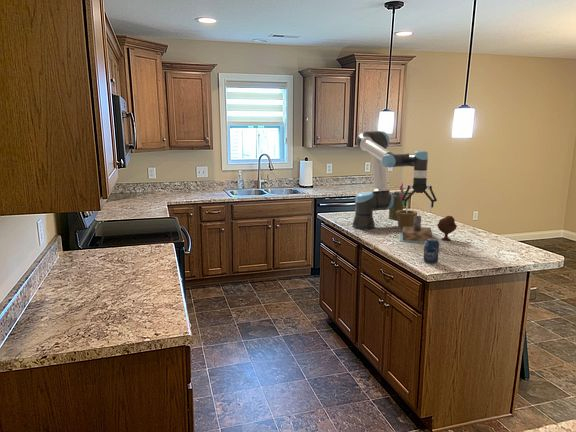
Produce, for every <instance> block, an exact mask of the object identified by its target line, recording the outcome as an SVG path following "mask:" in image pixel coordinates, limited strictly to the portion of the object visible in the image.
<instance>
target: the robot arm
mask: <svg viewBox="0 0 576 432" xmlns="http://www.w3.org/2000/svg"><path fill="white" fill-rule="evenodd" d="M356 145H357V148H359V149H360V150H361V151H363V152H367V153H369V154H371V163H372V174H373V176H372V177H373V190H372V191H362V192H359V193H357V194H356V195H355V202H354V203H355V207H354V208H355V210H354V212H355V213H354V219H352V220H353V221H352V222H351V223H352V228H353V229H354V228H355V229H359V230H372V229H374V228H375V226H376V225H375V224H376V223H375V221H374V216H373V215H374V214H373V212H377V211H387V210H388V211H389V209H390V208H391V207H392V205H393V202H394V198H393V196H392V193H391V192H390V189H389V188H388V186H387V183H388V182H387V173H386V172H387V170H386V168H400V167H402V168H403V167H413V181H412V182H413V183H412V185H410V184H408V185H407V188H406V190H405V192H404V193H405V194H403V197H402V200H403V202H405V203H404V205H403V207H404V208H405V210H406V212H407V211H408V210H409V209H408V205H409V199H410V198H411V197H412V196H413V195H414V194H415V193H416V194H423V193H424V194H425V195H426V197H427V198H428V199H429V200H430V201H429V214H432V208H434V203H435V202H437V201H438V199H437V197H436V196H435V195H436V194H435V192H434V191H433V186H432V185H431V184H430V185H427V181H428V179H427V177H428V159H429V157H428V156H429V153H428V151H425V150H417V151H414V153H401V154H400V153H398V154H396V153H393V152H391V151H389V150H388V149H387V148H388V147H389V146H390V137H389V135H388V133H386V132H385V131H380V130H377V131H376V130H375V131H373V130H372V131H370V130H369V131H368V130H367V131H362V132H360V133H359V134H358V136H357V137H356ZM411 189H413V190H412V191H411V192H410V193H409V191H410V190H411ZM427 189H428V190H429V191H430V193H431V195H432V196H430V194H429V193H428V192H427V191H426V190H427ZM408 193H409V194H408ZM405 197H407V198H406V199H405Z"/></svg>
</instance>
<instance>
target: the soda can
mask: <svg viewBox="0 0 576 432" xmlns="http://www.w3.org/2000/svg"><path fill="white" fill-rule="evenodd" d="M423 244H424V246H423V261H424V263H425V264H428V265H429V264H430V265H435V264H437V263H438V261H439V251H440V250H439V249H440V242H439V239H438V238H435V237H434V238H426V241H425V243H423Z"/></svg>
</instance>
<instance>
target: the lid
mask: <svg viewBox="0 0 576 432" xmlns="http://www.w3.org/2000/svg"><path fill="white" fill-rule="evenodd" d="M402 233H403V240H410V241H426V238H432V235H433V232H432V229H431V227H422V216H421V215H417V216H414V227H406V226H403V228H402Z"/></svg>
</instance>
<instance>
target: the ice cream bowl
mask: <svg viewBox="0 0 576 432" xmlns="http://www.w3.org/2000/svg"><path fill="white" fill-rule="evenodd" d="M436 225H437V228H438V230H439V231H440V232H441V233H443V234H444V237H442V238H441V239H440V241H443V242H451V238H450V237H449V234H451V233H453V232H455V231H456V229H457V228H458V225H457V224H456V221H455V218H454V216H452V215H447V216H445V217H444V218H443V217H442V218H440V219H439V221H438V223H436Z"/></svg>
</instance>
